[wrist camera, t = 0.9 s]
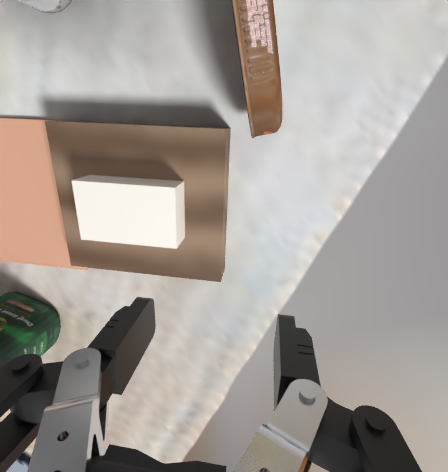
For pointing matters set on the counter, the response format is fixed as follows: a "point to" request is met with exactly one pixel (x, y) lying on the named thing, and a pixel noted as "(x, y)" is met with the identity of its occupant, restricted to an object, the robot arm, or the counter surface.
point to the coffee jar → (25, 327)
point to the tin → (259, 64)
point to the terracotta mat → (29, 197)
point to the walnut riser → (149, 167)
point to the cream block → (130, 210)
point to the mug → (47, 5)
